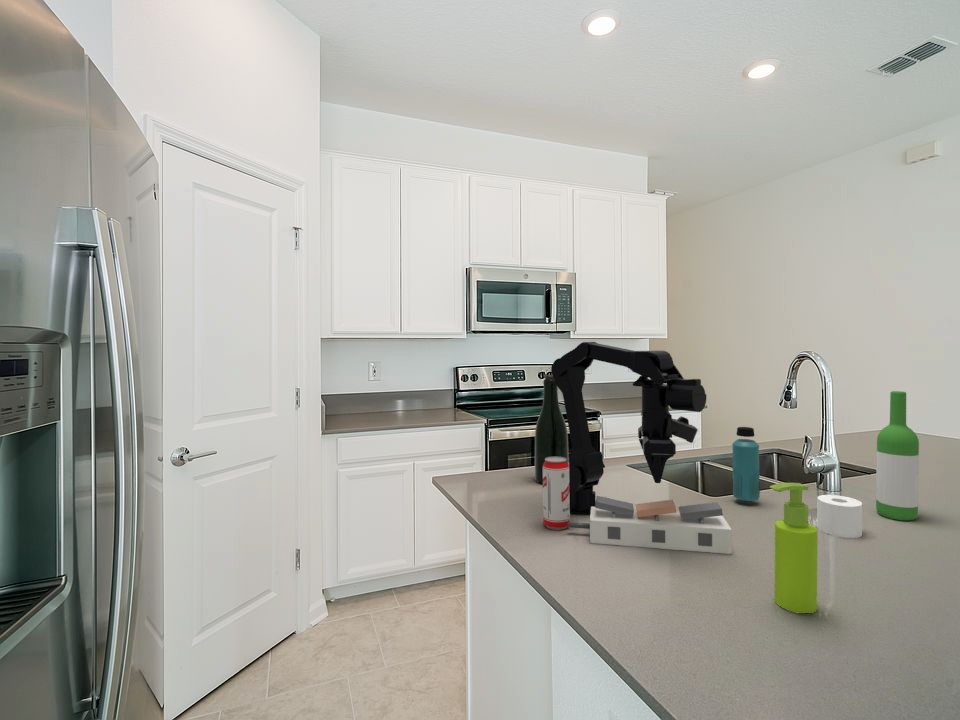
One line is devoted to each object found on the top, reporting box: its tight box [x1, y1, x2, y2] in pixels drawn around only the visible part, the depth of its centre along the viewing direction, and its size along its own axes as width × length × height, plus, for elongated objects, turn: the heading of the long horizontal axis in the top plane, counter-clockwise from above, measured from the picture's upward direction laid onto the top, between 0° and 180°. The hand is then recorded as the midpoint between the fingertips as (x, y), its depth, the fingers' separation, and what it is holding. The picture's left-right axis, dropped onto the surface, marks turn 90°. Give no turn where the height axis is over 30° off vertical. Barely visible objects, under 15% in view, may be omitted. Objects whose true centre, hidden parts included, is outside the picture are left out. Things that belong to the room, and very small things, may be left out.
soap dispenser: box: [769, 482, 819, 614], centre depth 82 cm, size 6×7×20 cm
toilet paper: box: [816, 493, 863, 539], centre depth 114 cm, size 8×11×7 cm
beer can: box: [542, 456, 571, 531], centre depth 118 cm, size 6×6×16 cm
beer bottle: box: [534, 374, 570, 485], centre depth 155 cm, size 10×10×33 cm
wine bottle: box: [875, 390, 920, 522], centre depth 120 cm, size 8×8×30 cm
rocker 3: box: [678, 501, 724, 520], centre depth 107 cm, size 8×4×1 cm, turn 75°
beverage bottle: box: [731, 426, 761, 502], centre depth 132 cm, size 6×7×20 cm
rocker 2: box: [634, 499, 678, 517], centre depth 109 cm, size 8×4×1 cm, turn 75°
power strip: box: [567, 507, 733, 555], centre depth 110 cm, size 33×9×6 cm, turn 76°
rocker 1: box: [595, 495, 635, 516], centre depth 111 cm, size 8×4×1 cm, turn 76°
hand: (655, 477), depth 112 cm, fingers open, 9 cm apart
